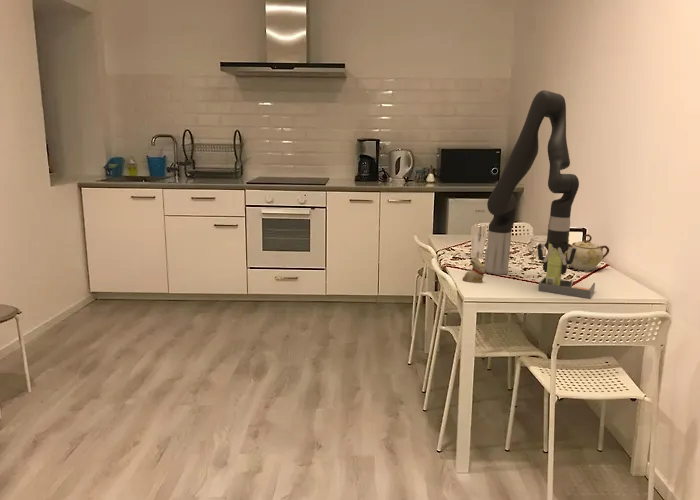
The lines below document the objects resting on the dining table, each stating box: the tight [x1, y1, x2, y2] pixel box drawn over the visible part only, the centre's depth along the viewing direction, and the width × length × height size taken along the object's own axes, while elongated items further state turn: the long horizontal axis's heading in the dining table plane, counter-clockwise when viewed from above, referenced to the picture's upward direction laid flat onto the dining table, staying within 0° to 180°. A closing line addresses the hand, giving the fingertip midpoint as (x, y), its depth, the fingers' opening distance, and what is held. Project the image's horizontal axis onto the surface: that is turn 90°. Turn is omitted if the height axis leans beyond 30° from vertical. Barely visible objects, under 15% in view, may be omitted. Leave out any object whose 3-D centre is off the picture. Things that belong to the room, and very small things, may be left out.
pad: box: [572, 286, 590, 290], centre depth 225 cm, size 6×6×1 cm
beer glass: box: [469, 223, 487, 260], centre depth 273 cm, size 7×7×15 cm
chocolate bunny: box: [462, 257, 486, 284], centre depth 233 cm, size 6×8×10 cm
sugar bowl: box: [565, 233, 610, 271], centre depth 258 cm, size 20×15×15 cm
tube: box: [545, 240, 570, 286], centre depth 223 cm, size 6×5×20 cm
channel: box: [538, 276, 596, 300], centre depth 224 cm, size 18×12×3 cm, turn 61°
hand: (554, 272), depth 224 cm, fingers closed on tube, 5 cm apart
